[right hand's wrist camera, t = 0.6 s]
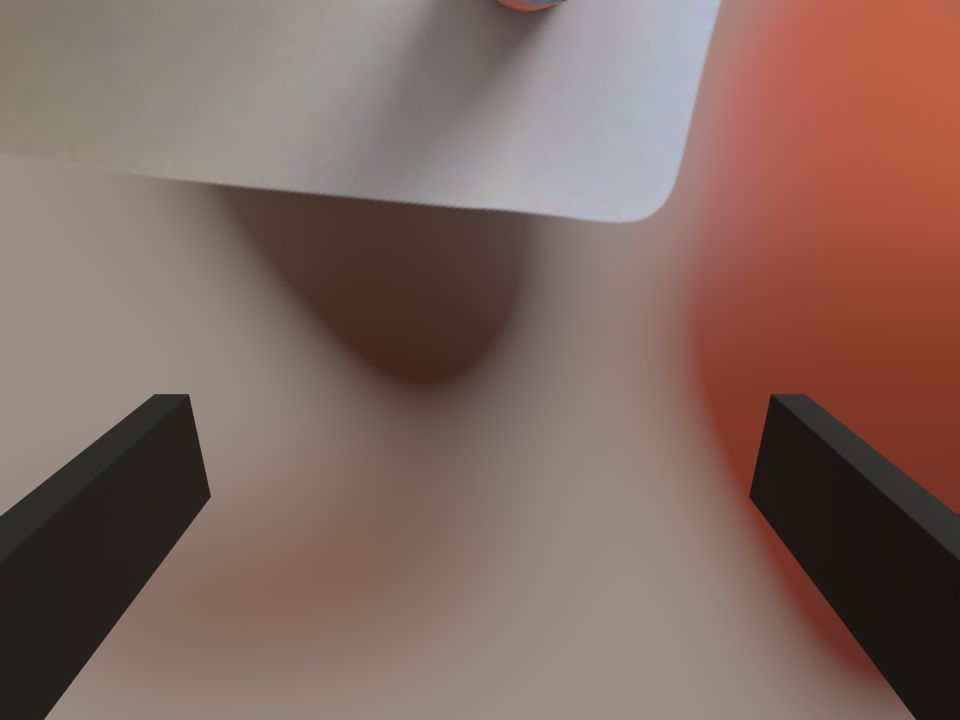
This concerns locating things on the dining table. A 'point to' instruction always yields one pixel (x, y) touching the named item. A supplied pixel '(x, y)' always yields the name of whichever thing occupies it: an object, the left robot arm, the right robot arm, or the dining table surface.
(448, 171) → the dining table surface
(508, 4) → the cup with straw
